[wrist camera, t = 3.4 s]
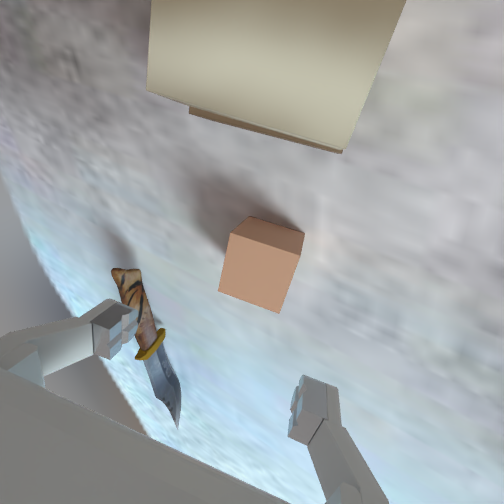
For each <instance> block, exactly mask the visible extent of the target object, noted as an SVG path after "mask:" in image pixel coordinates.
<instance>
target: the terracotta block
mask: <svg viewBox="0 0 504 504" xmlns="http://www.w3.org/2000/svg"><path fill="white" fill-rule="evenodd" d="M304 236H305V233H302V232H299V231H295V230H292V229H289V228H286V227H283V226H280V225H276V224H273V223H270V222H267V221H264V220H260V219H257V218H254V217H251V216H249V217H248V218H247V219H245V220H244V221H243V222H242V223H241V224H240V225H239V226H237V227H236V228H235V229H234V230H233V231H232V232H231V233H230V236H229V241H228V246H227V251H226V255H225V260H224V265H223V270H222V274H221V279H220V284H219V288H218V291H219V292H222V293H224V294H227V295H230V296H232V297H235V298H238V299H241V300H243V301H246V302H249V303H251V304H254V305H257V306H259V307H262V308H265V309H268V310H270V311H273V312H276V313H278V314H279V313H280V310H281V308H282V305H283V302H284V299H285V297H286V294H287V291H288V289H289V286H290V283H291V280H292V278H293V275H294V272H295V269H296V267H297V264H298V261H299V258H300V255H301V251H302V246H303V241H304Z"/></svg>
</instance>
